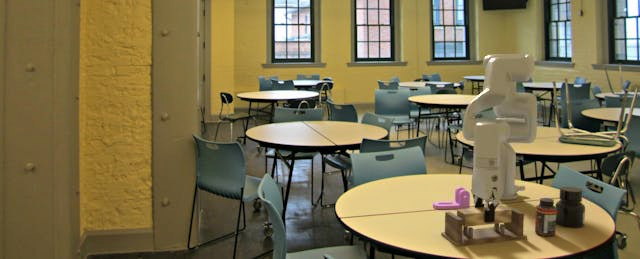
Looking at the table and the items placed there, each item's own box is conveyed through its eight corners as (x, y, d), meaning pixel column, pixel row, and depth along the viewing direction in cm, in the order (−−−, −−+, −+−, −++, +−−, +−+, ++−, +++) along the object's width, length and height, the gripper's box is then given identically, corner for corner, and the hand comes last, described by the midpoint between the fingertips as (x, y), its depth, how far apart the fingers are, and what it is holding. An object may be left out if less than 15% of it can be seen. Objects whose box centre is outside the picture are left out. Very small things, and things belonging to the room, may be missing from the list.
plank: (501, 217, 164) (502, 204, 163) (511, 221, 159) (511, 209, 158) (456, 221, 160) (456, 209, 159) (464, 227, 155) (465, 214, 155)
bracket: (464, 204, 195) (464, 186, 194) (469, 208, 190) (470, 190, 189) (431, 205, 194) (431, 187, 193) (435, 209, 189) (435, 191, 188)
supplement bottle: (531, 231, 165) (532, 197, 163) (548, 230, 165) (550, 196, 163) (540, 237, 159) (542, 202, 157) (559, 236, 159) (561, 201, 158)
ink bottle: (591, 227, 167) (593, 192, 165) (567, 229, 165) (569, 193, 164) (570, 218, 177) (572, 184, 175) (548, 220, 175) (550, 186, 173)
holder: (507, 227, 168) (508, 205, 167) (526, 238, 158) (528, 214, 157) (441, 235, 162) (441, 211, 161) (456, 246, 152) (457, 221, 151)
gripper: (513, 167, 149) (511, 226, 152) (481, 156, 166) (480, 210, 168) (490, 169, 148) (488, 229, 150) (461, 157, 164) (459, 212, 167)
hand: (484, 218), depth 159 cm, fingers closed on plank, 5 cm apart
